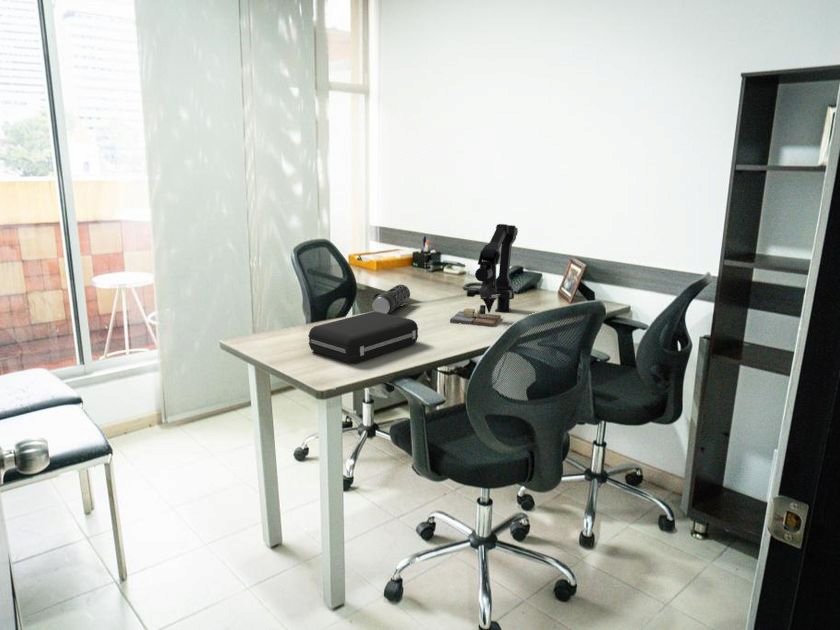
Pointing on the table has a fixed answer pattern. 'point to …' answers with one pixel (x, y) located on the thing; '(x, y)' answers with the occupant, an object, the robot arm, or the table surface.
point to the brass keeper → (470, 313)
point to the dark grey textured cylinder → (391, 299)
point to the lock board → (487, 321)
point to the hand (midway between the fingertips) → (489, 312)
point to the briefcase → (363, 336)
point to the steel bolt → (482, 312)
